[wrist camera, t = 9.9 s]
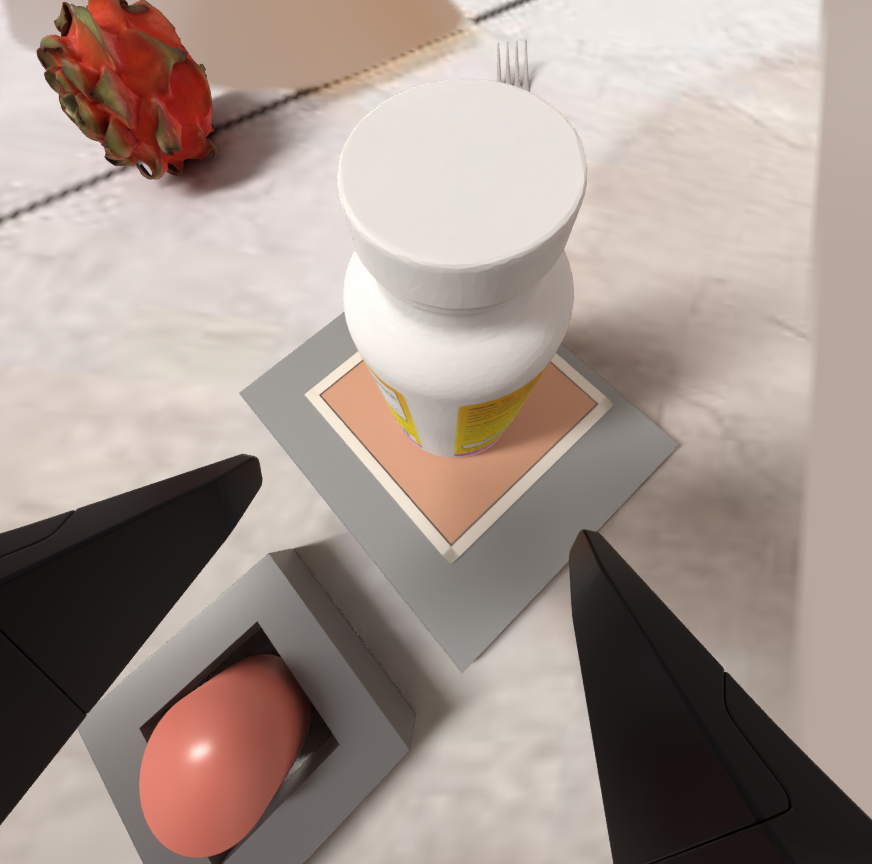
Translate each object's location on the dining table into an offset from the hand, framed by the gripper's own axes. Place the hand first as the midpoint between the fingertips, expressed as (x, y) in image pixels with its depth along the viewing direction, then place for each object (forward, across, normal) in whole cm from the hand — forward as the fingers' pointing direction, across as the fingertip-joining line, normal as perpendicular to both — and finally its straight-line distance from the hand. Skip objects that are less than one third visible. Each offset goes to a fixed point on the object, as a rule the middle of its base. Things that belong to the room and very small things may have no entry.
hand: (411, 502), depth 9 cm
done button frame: (-1, +6, +14) cm, 15 cm away
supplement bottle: (+10, 0, +2) cm, 10 cm away
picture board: (+10, 0, +3) cm, 11 cm away
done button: (-2, +6, +13) cm, 14 cm away
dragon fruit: (+23, +25, -10) cm, 35 cm away
